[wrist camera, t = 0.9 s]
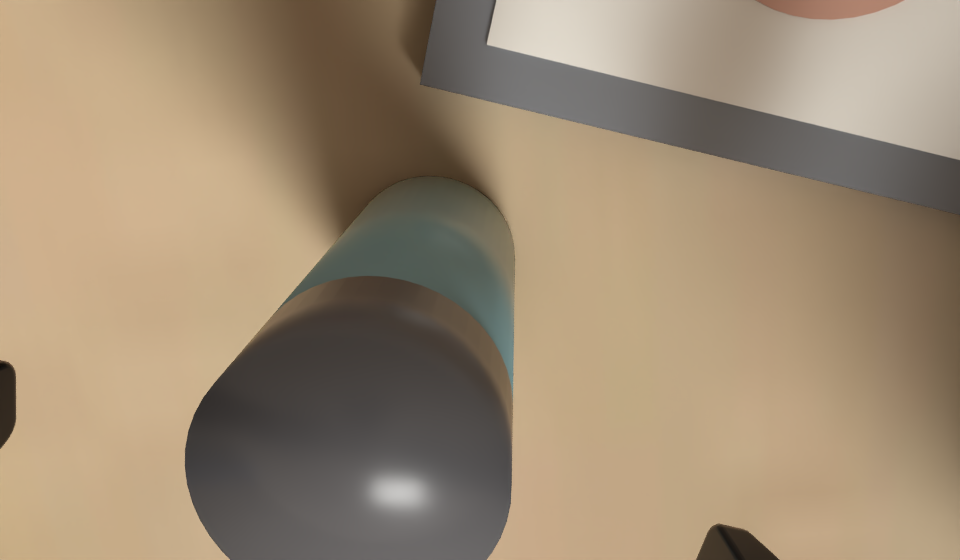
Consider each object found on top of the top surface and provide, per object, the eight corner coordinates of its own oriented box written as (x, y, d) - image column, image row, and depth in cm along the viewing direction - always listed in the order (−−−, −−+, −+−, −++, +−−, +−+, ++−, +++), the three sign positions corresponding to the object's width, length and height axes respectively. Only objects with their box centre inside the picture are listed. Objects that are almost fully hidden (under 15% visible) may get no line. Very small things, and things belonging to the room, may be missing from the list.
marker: (532, 198, 16) (548, 380, 8) (493, 348, 18) (470, 641, 9) (365, 158, 16) (200, 299, 8) (339, 312, 18) (173, 576, 9)
